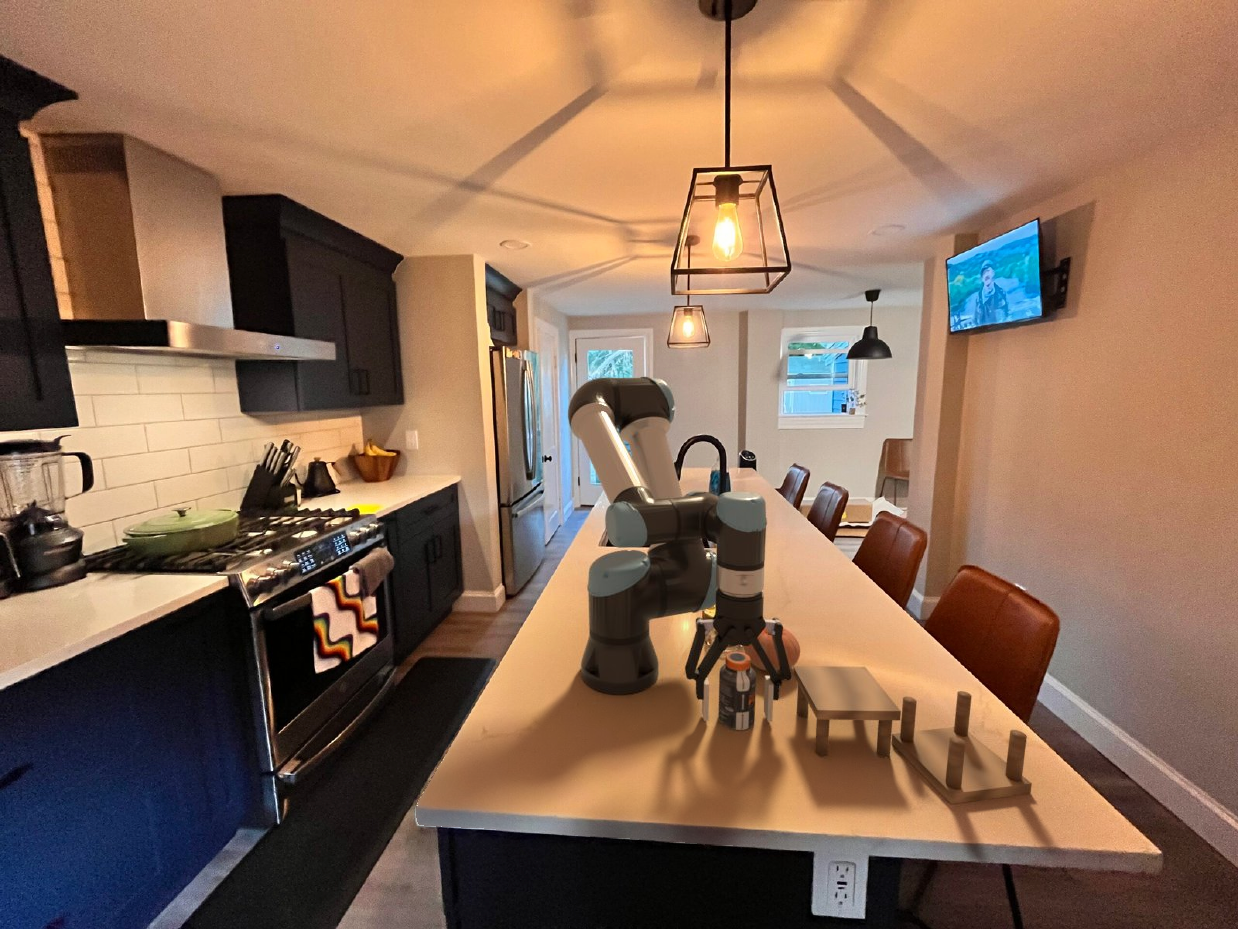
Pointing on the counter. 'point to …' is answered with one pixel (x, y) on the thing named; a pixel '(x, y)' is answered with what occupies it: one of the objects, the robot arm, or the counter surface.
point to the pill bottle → (737, 692)
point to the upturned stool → (961, 757)
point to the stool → (844, 701)
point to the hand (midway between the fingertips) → (736, 716)
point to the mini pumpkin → (768, 645)
